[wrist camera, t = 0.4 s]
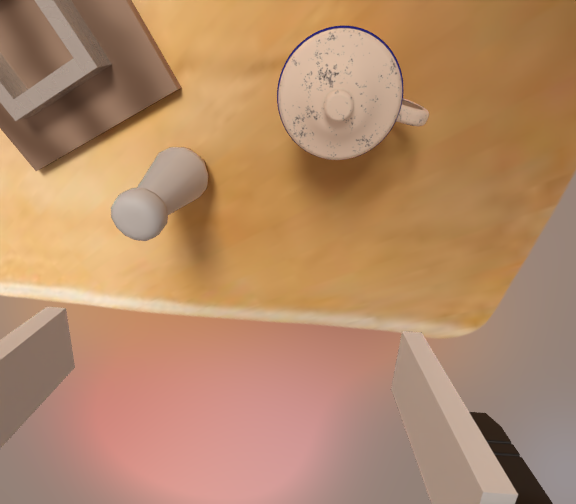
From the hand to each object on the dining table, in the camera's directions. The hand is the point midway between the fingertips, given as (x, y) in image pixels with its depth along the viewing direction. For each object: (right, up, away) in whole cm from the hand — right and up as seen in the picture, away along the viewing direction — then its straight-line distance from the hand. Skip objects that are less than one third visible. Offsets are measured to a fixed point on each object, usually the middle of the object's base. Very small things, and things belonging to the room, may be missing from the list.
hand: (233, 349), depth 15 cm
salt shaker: (-9, +13, +26) cm, 30 cm away
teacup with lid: (+8, +19, +20) cm, 29 cm away
